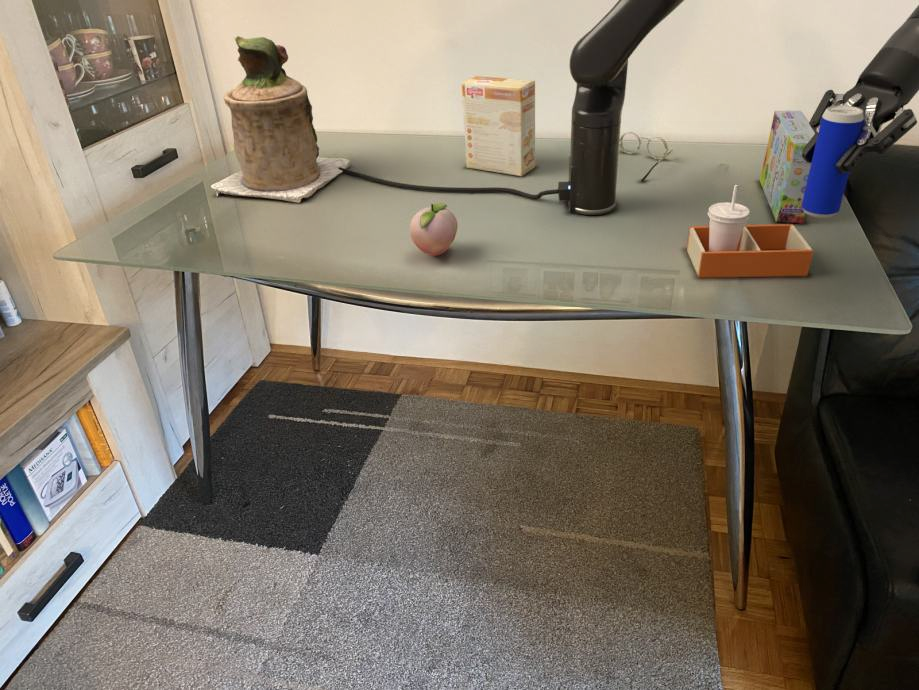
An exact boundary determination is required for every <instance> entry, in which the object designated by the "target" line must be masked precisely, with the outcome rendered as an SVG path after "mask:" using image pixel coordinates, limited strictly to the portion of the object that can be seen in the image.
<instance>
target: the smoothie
mask: <svg viewBox="0 0 919 690" xmlns="http://www.w3.org/2000/svg"><path fill="white" fill-rule="evenodd" d="M738 189H739V184H734V187H733V192H732V198H731V202H730V201H729V202H728V201H727V202H726V201H725V202H723V201H722V202H717V203H714V204H711V205H710V206H709V208H708V211H707V216H708V217H709V224H708V226H709V251H708V252H716V251H737V250H736V249H737V246H738V243H739V240H740V237H741V234H742V231H743V229H744V225H746V222H747V221H748V220H749V219H750V213H751V210H750V209H749V208H748V207H747V206H745V205H743V204H740V203H738V202H737V203H736V201H737V195H738Z"/></svg>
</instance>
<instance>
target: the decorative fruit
mask: <svg viewBox="0 0 919 690" xmlns="http://www.w3.org/2000/svg"><path fill="white" fill-rule="evenodd" d="M447 207H448V205H447V204H446V203H444V202H435V203H431V204H430V206H429V207H424V208H422V209H420V210H419V211H417V213H415V215H414V216H413V217H412V219H411V221H410V224H409V235H410V239H411V241H412V243H413V244H414V245H415V246H416V247H417V248H418V249H419V251H420V252H422V253H424V254H426V255H429V256H439V255H440V256H441V255H443V254H444V253H445V252H446V251H448V249H449V248H450V247H451V245H452V244H453V242H454V241H455V238H456V236H457V232H458V227H459V225H458V224H459V223H458V219H457V217H456V216H455V215H454V213H453V212H452V211H451V210H450V209H447Z"/></svg>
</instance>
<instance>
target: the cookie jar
mask: <svg viewBox="0 0 919 690" xmlns="http://www.w3.org/2000/svg"><path fill="white" fill-rule="evenodd" d="M233 38H234V41H235V43H236V45H237V47H238V48H237V52H238V54H239V56H238V58H237V61H238V62H239V63H240V65H241V67H242V68H243V70H244V72H245V74H246V75H245V77H244V78H243V79H242V80H241V82H240V83H238V85H236V87H235V88H233V89H231V90H229V91H227V92H226V93H225V94H224V96H223V100H224V104H225V105H226V107H228V108H229V110H230V115H231V129H232V137H233V150H234V153H235V157H236V161H237V162H238V164H239V167H240V171H237V172H236V173H233V174H230V175H229V176H227V177H225V178H223V179H221V180H219V181H217V182H215V183H212V184H211V185H210V188H211V189H212V190H213V191H214V192H215V191H217V192H215V194H216V197H219V195H220V194H224V195H230V196H231V195H232V196H241V197H251V198H253V197H254V198H262V199H263V198H265V199H271V200H281V201H286V202H293V203H297V204H299V203H301V201H302V199H303V198H305V199H308V198H309V197H311V196H312V195H313V194H315V193H316V192H317V191H318V190H319V189H321V188H323V187H325V186H326V185H327V184H328V183H330V182H331V181H332V180H334V179H335V178H336V177H338V176H339V175H340V174H342V173H344V172H343V171H342V170H340V169H338V168H339V167H341V168H344V169H348V168H349V167H350V165H351V162H350V160H349V159H348V158H343V157H333V158H332V157H320V156H319V155H320V152H319V151H320V148H319V146H318V144H317V143H318V135H317V133H316V129H315V127H314V124H313V121H314V117H313V105H312V104H311V101H310V99H309V95H308V88H307V87H306V86H305V85H304V84H301V82H300V81H298V80H296V79H294V78H292V77H290V76H288V75H287V72H286V70H285V68H283V66H284V64H285V63H287V62H288V60H289V55H288V52H287V48H286V47H285V46H283V45H280V44H276V43H275V42H274V41H273V40H272V39H269V38H266V37H263V36H261V37H259V36H258V37H252V38H244V37H243V36H242V37H241V36H239V35H235V36H234V37H233ZM219 192H221V193H219Z"/></svg>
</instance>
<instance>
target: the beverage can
mask: <svg viewBox="0 0 919 690" xmlns="http://www.w3.org/2000/svg"><path fill="white" fill-rule="evenodd" d="M863 120H864V115H863V110H862V109H860V108H857V107H853V106H842V105H839V106H831V107H828V108H827V109H826V111H825V112H824V114H823V116H822V119H821V124H820V128H819V132H818V137H817V141H816V145H815V150H814V154H813V158H812V162H811V167H810V171H809V175H808V180H807V184H806V188H805V192H804V197H803V201H802V205H801V206H802V209H803V211H804V212H805V213H806V215H808V216H811V217H814V218H832V217H833V216H835V215H836V214H837V213H839V212H840V209H841V206H842V201H843V198H844V194H845V191H846V187H847V183H848V180H849V175H850V172H847V173H846V174H844V175H843V174H840V173H839V172H838V171H837V169H836V164H837V163H838V161H839V160H840V159H841V158H842V156H843V155H844V154H845V153H846V151H847V150H848V149H849V148H850V147H851V146H852V144H855V145H856V144H857V139H858V136H859V133H860V131H861V127H862V123H863Z"/></svg>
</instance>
